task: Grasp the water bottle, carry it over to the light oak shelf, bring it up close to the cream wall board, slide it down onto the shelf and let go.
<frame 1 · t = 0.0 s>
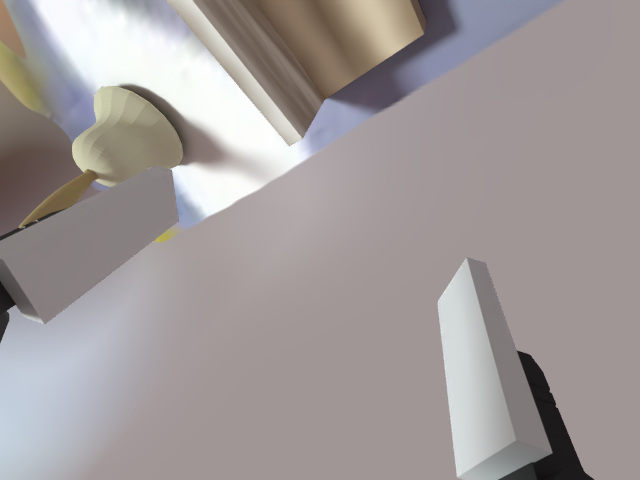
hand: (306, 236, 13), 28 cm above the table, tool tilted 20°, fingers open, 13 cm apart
handbell: (148, 125, 50), on the table
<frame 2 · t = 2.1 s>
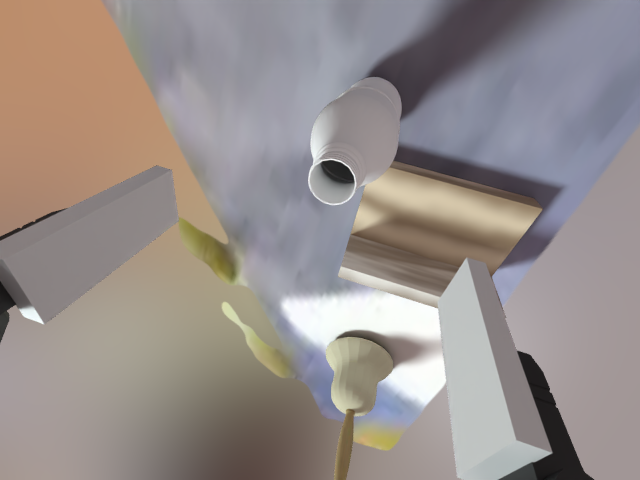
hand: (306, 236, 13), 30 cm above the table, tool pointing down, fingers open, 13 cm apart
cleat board: (434, 213, 43), on the table
handbell: (359, 352, 66), on the table
water bottle: (373, 106, 37), on the table
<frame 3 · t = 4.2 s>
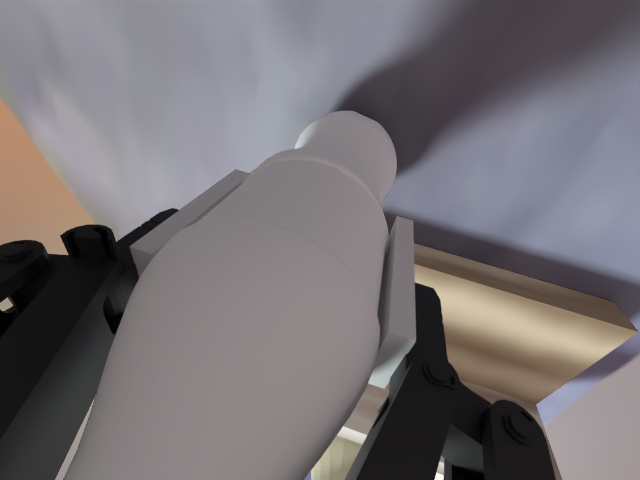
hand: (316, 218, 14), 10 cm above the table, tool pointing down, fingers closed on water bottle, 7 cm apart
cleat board: (448, 307, 28), on the table
handbell: (345, 444, 51), on the table
water bottle: (350, 153, 22), on the table, touching gripper
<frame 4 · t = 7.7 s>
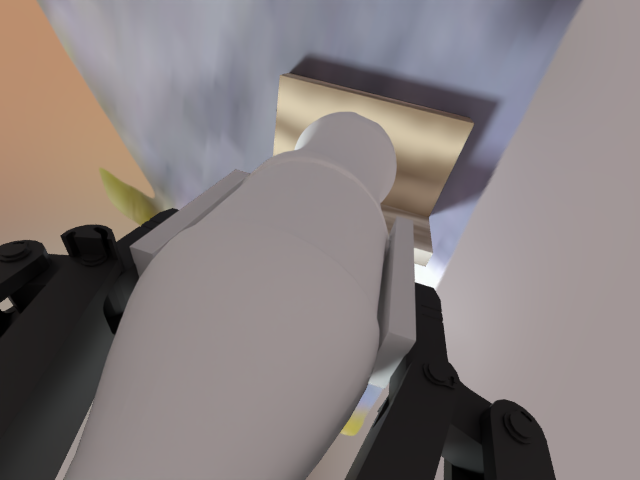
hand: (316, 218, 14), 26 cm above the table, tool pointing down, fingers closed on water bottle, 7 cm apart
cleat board: (362, 144, 37), on the table
water bottle: (350, 154, 22), point 16 cm above the table, touching gripper
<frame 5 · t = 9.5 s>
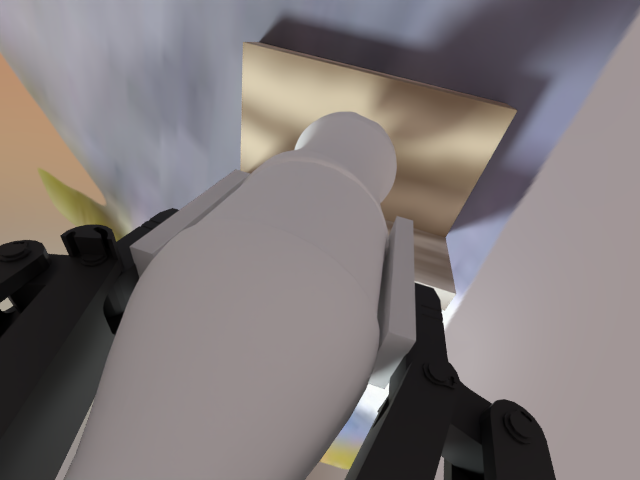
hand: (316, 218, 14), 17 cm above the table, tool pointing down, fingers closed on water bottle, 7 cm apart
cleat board: (358, 140, 28), on the table
water bottle: (350, 154, 22), point 7 cm above the table, touching gripper
when the fingers open (15 cm above the table, at t = 10.9 s): water bottle drops 1 cm, resting on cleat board.
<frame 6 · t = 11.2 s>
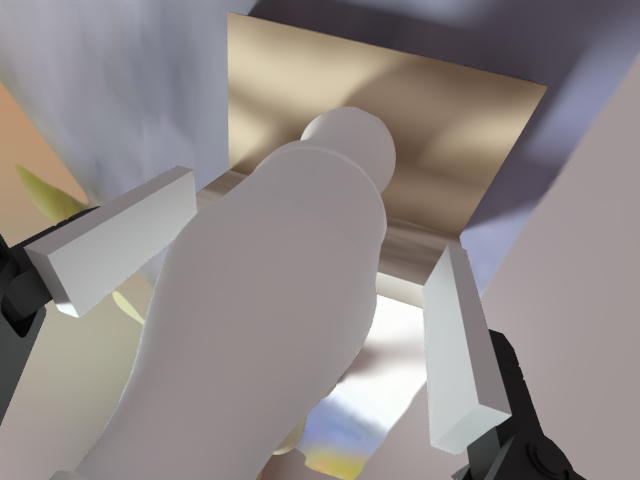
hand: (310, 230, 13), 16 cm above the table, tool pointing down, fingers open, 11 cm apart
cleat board: (361, 127, 25), on the table
handbell: (294, 359, 48), on the table
water bottle: (352, 148, 23), point 3 cm above the table, touching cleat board
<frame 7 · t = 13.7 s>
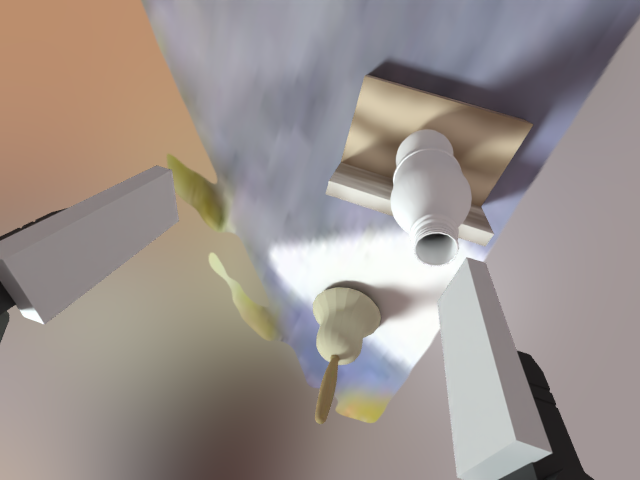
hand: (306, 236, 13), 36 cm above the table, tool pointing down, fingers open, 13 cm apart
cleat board: (425, 140, 42), on the table
handbell: (347, 307, 65), on the table
water bottle: (422, 151, 41), point 3 cm above the table, touching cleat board
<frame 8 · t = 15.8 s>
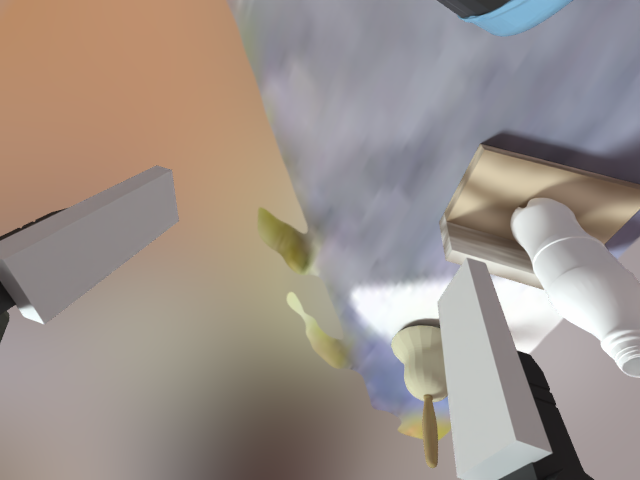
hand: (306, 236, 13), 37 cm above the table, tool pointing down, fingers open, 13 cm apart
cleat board: (531, 200, 44), on the table
handbell: (425, 341, 68), on the table
water bottle: (533, 214, 43), point 3 cm above the table, touching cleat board
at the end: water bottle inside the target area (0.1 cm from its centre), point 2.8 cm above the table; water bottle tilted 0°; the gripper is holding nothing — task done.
